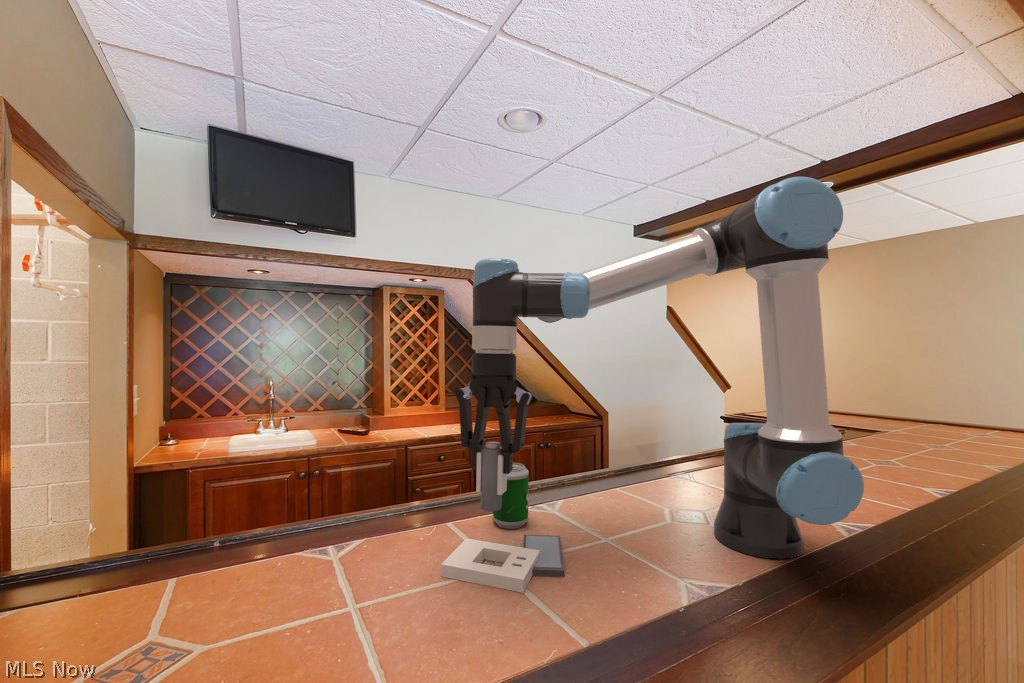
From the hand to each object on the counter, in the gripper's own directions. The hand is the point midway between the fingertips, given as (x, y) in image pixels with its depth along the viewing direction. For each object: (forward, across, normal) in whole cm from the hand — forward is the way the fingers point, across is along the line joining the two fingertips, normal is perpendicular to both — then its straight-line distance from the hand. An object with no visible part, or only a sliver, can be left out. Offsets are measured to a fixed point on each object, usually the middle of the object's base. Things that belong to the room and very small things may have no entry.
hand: (491, 490), depth 74 cm
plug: (+3, 0, 0) cm, 3 cm away
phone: (+13, -7, -7) cm, 17 cm away
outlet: (+13, 0, 0) cm, 13 cm away
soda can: (+13, +3, -19) cm, 24 cm away
